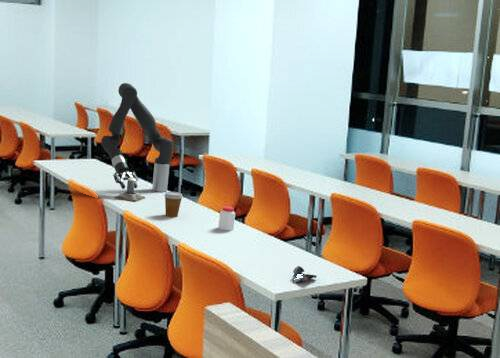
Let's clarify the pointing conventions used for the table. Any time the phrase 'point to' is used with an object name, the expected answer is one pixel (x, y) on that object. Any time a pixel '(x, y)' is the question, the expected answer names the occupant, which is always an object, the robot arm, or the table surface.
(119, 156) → the robot arm
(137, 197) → the socket plate
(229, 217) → the pill bottle
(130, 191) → the plug
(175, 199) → the disposable coffee cup
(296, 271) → the black spring clamp
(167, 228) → the table surface
